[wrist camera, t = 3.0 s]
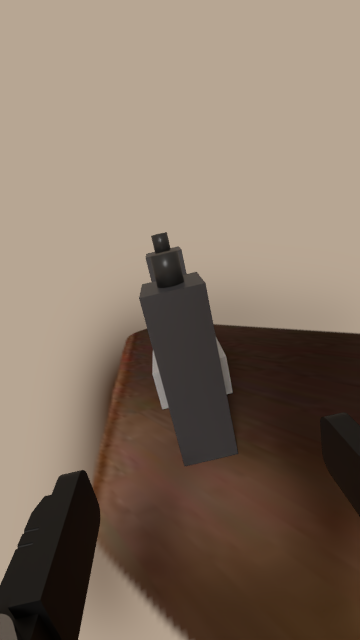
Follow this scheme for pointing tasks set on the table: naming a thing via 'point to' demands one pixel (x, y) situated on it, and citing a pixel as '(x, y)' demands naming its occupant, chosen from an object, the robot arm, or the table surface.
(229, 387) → the grey rectangular tray
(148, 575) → the table surface
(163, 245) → the twin plug
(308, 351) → the table surface
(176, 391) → the plug
